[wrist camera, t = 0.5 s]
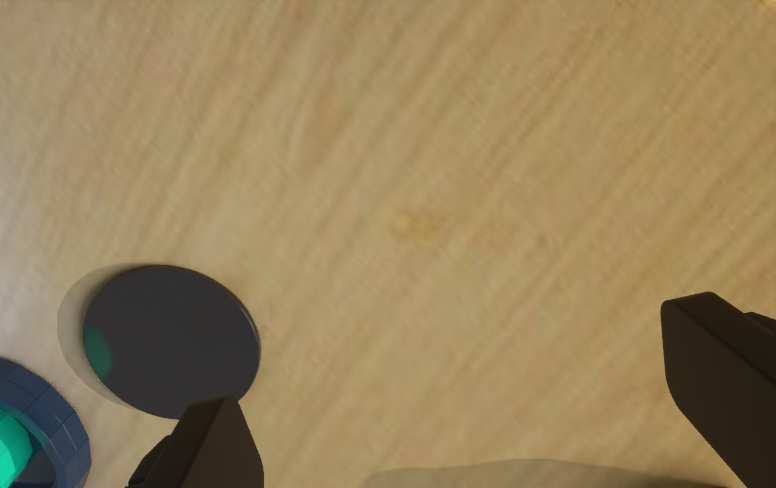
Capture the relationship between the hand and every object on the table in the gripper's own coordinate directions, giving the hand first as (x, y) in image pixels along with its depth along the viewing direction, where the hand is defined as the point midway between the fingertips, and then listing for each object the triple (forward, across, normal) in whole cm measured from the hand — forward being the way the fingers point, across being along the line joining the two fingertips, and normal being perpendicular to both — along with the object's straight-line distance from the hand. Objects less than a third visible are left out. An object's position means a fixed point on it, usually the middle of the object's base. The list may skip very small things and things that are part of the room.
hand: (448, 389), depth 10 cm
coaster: (+18, +15, +6) cm, 25 cm away
